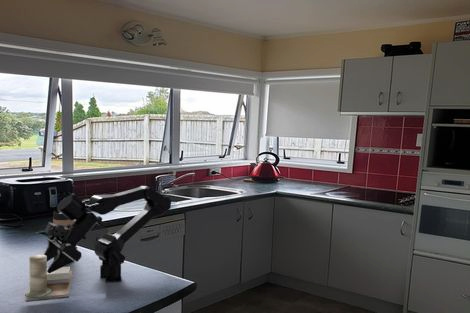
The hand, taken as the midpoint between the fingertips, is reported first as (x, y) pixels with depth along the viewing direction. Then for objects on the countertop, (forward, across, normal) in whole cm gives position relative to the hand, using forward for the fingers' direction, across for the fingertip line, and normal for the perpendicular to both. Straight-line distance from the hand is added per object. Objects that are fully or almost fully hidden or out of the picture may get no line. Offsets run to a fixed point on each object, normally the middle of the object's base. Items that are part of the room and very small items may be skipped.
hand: (44, 268), depth 128 cm
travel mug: (-3, -27, +16) cm, 31 cm away
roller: (+6, 0, +4) cm, 7 cm away
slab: (+2, -6, +8) cm, 10 cm away
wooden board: (+4, -6, +9) cm, 11 cm away
